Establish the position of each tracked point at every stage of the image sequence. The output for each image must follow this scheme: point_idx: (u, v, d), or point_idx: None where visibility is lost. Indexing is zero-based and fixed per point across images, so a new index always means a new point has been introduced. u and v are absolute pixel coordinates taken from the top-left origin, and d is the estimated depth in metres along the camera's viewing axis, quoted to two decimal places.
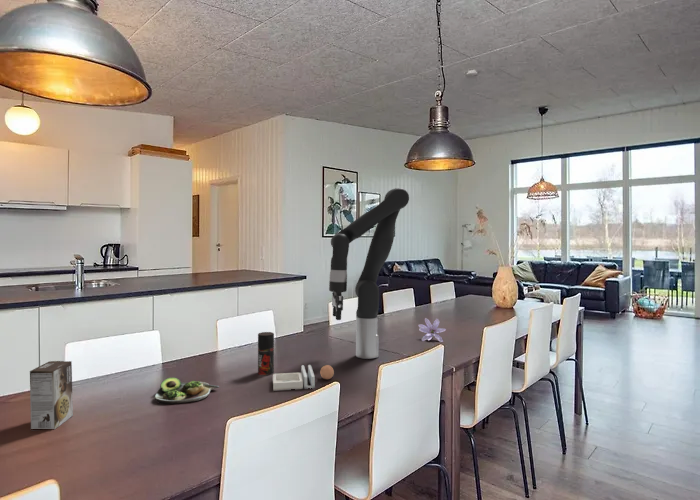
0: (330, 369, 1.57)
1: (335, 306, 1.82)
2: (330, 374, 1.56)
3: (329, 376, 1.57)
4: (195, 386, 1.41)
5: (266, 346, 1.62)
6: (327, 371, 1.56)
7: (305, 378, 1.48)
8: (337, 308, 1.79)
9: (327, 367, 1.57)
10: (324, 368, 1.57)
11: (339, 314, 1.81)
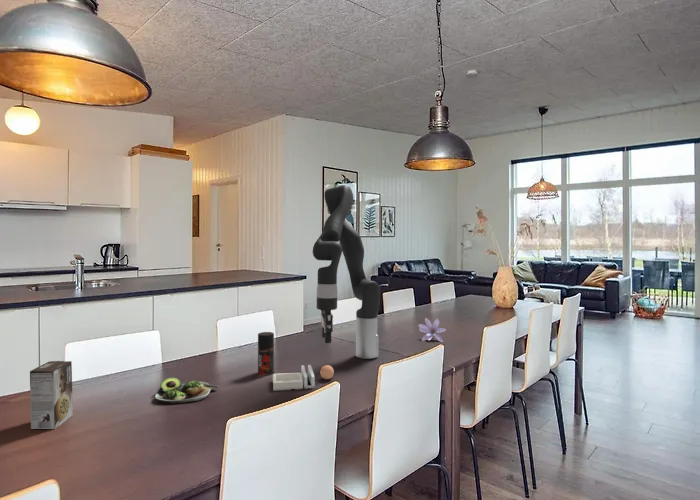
0: (330, 369, 1.57)
1: (324, 327, 1.55)
2: (330, 374, 1.56)
3: (329, 376, 1.57)
4: (195, 386, 1.41)
5: (266, 346, 1.62)
6: (327, 371, 1.56)
7: (305, 378, 1.48)
8: (326, 330, 1.51)
9: (327, 367, 1.57)
10: (324, 368, 1.57)
11: (329, 336, 1.53)
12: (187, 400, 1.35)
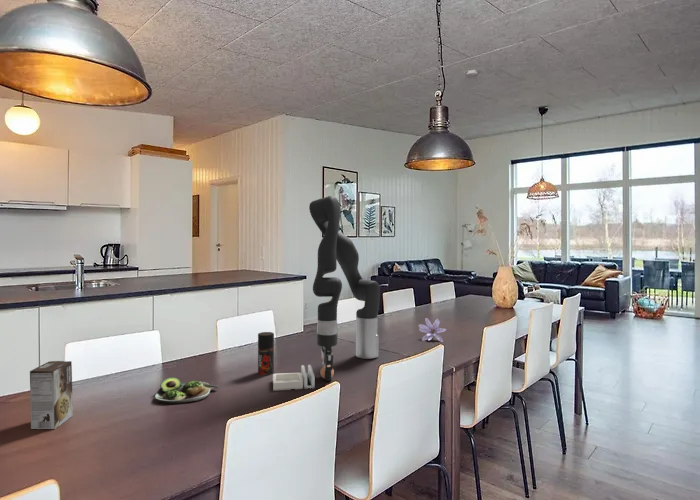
0: None
1: (324, 364, 1.56)
2: None
3: None
4: (195, 386, 1.41)
5: (266, 346, 1.62)
6: None
7: (305, 378, 1.48)
8: (326, 368, 1.53)
9: None
10: None
11: (329, 374, 1.55)
12: (187, 400, 1.35)
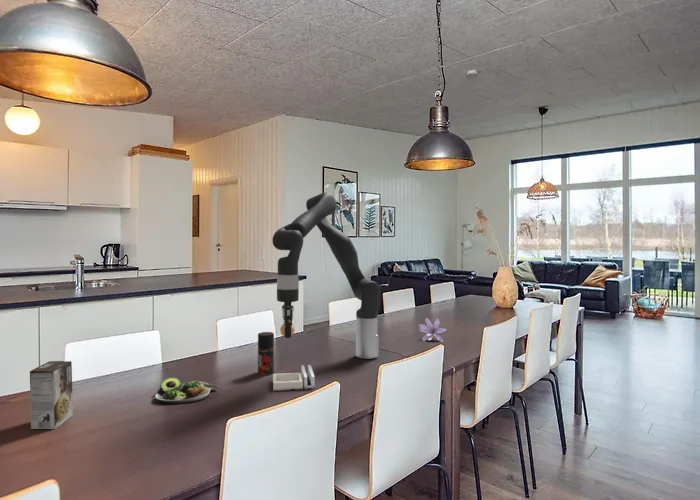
0: None
1: (284, 320, 1.49)
2: None
3: None
4: (195, 386, 1.41)
5: (266, 346, 1.62)
6: None
7: (305, 378, 1.48)
8: (285, 324, 1.46)
9: None
10: None
11: (288, 331, 1.48)
12: (187, 400, 1.35)
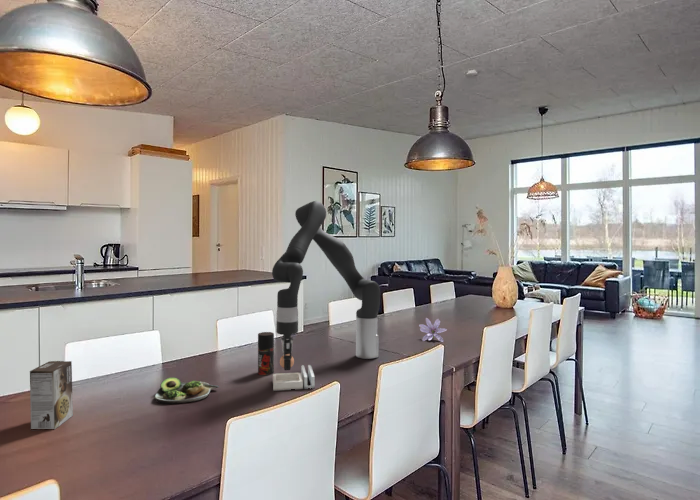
0: None
1: (283, 352, 1.49)
2: None
3: None
4: (195, 386, 1.41)
5: (266, 346, 1.62)
6: None
7: (305, 378, 1.48)
8: (284, 357, 1.46)
9: None
10: None
11: (288, 363, 1.48)
12: (187, 400, 1.35)
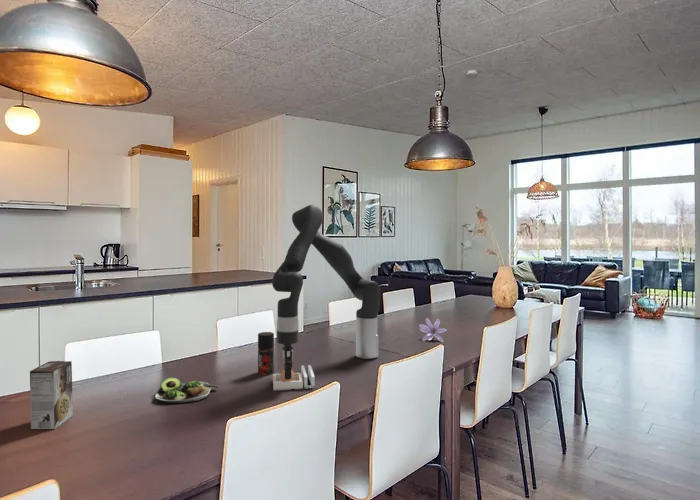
0: None
1: (284, 362, 1.49)
2: None
3: (289, 380, 1.50)
4: (195, 386, 1.41)
5: (266, 346, 1.62)
6: None
7: (305, 378, 1.48)
8: (285, 366, 1.45)
9: None
10: (284, 372, 1.50)
11: (288, 372, 1.47)
12: (187, 400, 1.35)
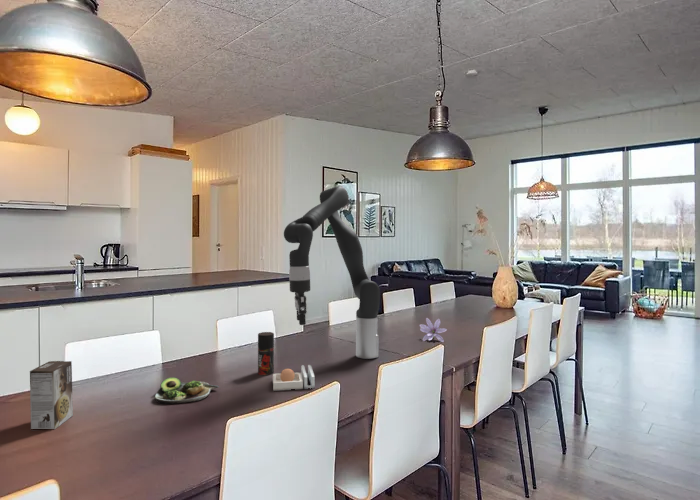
0: (290, 373, 1.50)
1: (298, 309, 1.55)
2: (290, 378, 1.50)
3: (289, 380, 1.50)
4: (195, 386, 1.41)
5: (266, 346, 1.62)
6: (287, 375, 1.50)
7: (305, 378, 1.48)
8: (299, 311, 1.52)
9: (287, 371, 1.51)
10: (284, 372, 1.50)
11: (303, 318, 1.54)
12: (187, 400, 1.35)
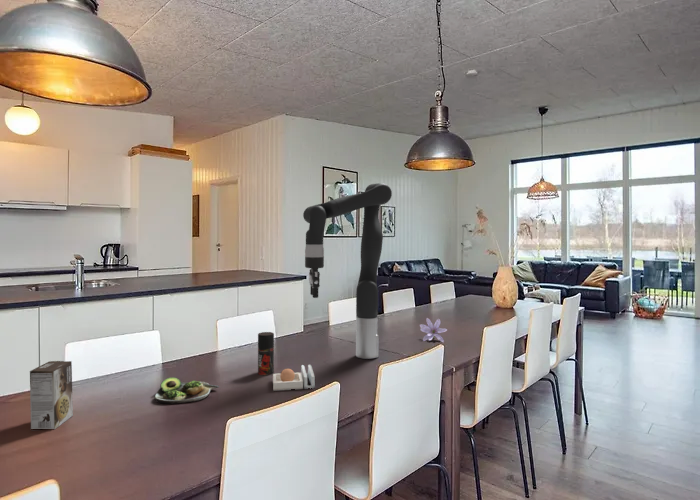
0: (290, 373, 1.50)
1: (311, 283, 1.70)
2: (290, 378, 1.50)
3: (289, 380, 1.50)
4: (195, 386, 1.41)
5: (266, 346, 1.62)
6: (287, 375, 1.50)
7: (305, 378, 1.48)
8: (313, 285, 1.67)
9: (287, 371, 1.51)
10: (284, 372, 1.50)
11: (316, 291, 1.69)
12: (187, 400, 1.35)
